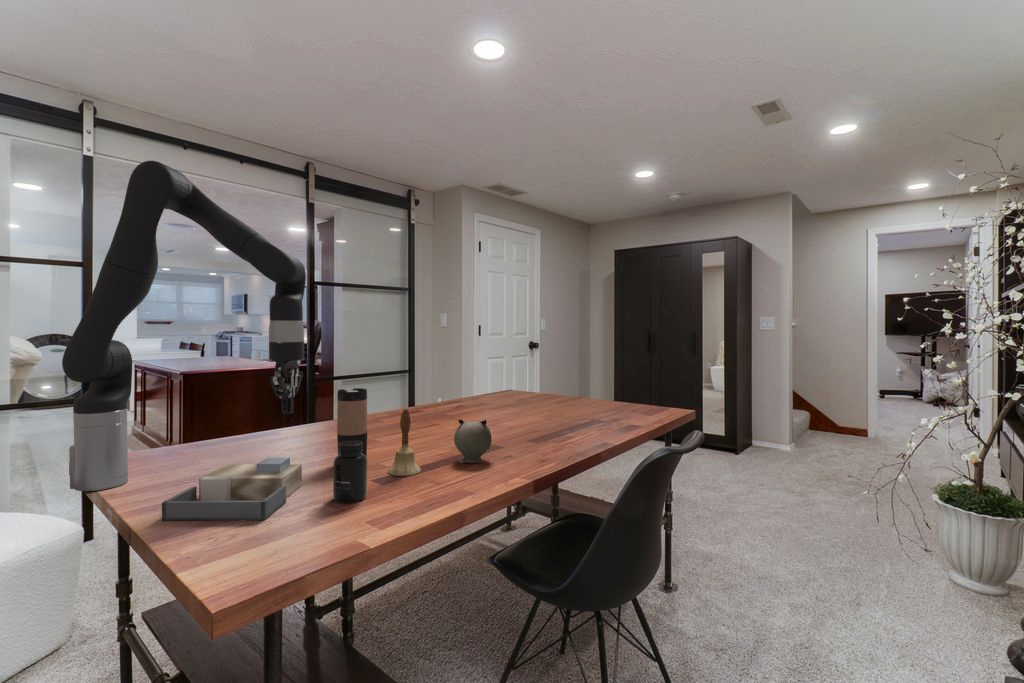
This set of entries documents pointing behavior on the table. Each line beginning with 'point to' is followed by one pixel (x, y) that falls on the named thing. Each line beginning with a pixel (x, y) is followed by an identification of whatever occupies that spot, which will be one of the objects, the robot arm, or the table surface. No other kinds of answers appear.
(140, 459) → the table surface
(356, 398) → the travel mug
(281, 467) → the slate tile
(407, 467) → the hand bell
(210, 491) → the beige block
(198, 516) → the tray
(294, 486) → the bench
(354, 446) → the supplement bottle
